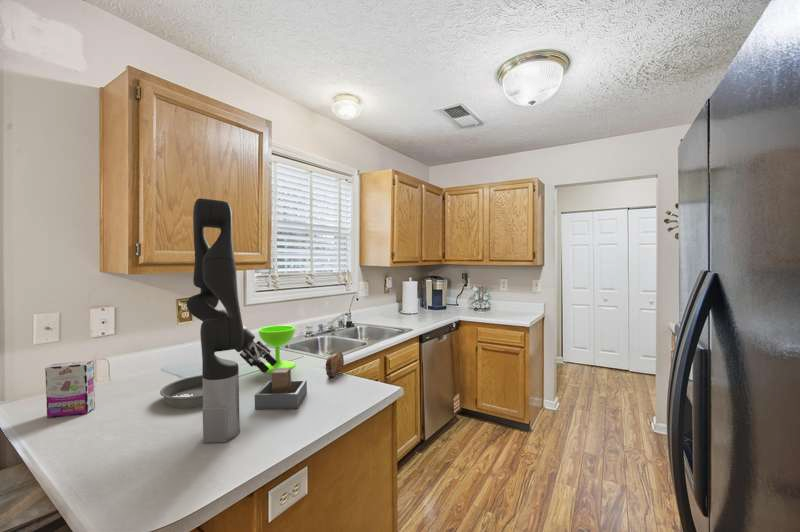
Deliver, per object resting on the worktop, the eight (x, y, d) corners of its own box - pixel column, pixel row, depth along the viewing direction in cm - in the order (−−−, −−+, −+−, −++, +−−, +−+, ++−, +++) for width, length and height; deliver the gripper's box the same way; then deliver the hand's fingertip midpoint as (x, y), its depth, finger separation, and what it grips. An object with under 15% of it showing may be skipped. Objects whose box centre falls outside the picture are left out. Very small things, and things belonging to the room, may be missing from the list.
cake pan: (164, 391, 139) (164, 379, 139) (235, 381, 150) (234, 370, 150) (155, 416, 117) (155, 402, 117) (238, 401, 128) (238, 389, 128)
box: (297, 409, 121) (297, 394, 121) (254, 410, 121) (254, 395, 120) (306, 393, 135) (306, 380, 135) (268, 394, 135) (268, 380, 134)
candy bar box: (96, 408, 124) (94, 360, 123) (87, 414, 119) (86, 364, 119) (56, 412, 121) (54, 363, 120) (45, 418, 116) (44, 367, 116)
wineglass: (258, 365, 172) (257, 327, 172) (292, 360, 179) (292, 324, 179) (260, 374, 158) (259, 333, 157) (298, 369, 164) (297, 330, 164)
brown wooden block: (286, 401, 125) (286, 372, 125) (272, 401, 125) (271, 372, 125) (291, 395, 130) (290, 368, 130) (276, 396, 130) (276, 368, 130)
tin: (331, 379, 150) (331, 359, 150) (324, 379, 151) (324, 359, 151) (344, 368, 165) (344, 350, 165) (337, 368, 166) (337, 350, 166)
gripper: (236, 331, 120) (272, 365, 120) (252, 324, 134) (284, 354, 134) (220, 348, 120) (256, 381, 120) (238, 339, 134) (270, 369, 134)
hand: (271, 367), depth 127 cm, fingers open, 8 cm apart
